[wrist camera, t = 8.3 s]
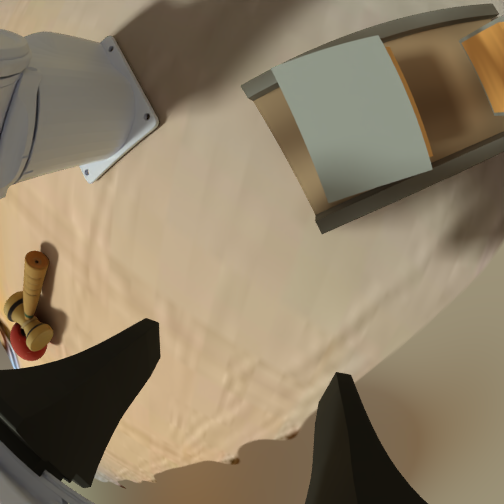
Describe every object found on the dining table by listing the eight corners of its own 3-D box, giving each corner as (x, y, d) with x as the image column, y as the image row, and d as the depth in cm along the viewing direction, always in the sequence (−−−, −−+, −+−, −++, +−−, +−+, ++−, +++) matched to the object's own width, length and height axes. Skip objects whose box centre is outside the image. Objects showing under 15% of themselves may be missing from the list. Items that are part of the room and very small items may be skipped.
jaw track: (251, 92, 15) (204, 62, 8) (474, 13, 8) (527, -21, 2) (322, 221, 17) (324, 278, 10) (528, 128, 10) (596, 138, 4)
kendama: (32, 229, 26) (19, 324, 31) (-2, 248, 20) (-2, 348, 25) (77, 263, 27) (55, 353, 33) (47, 290, 21) (37, 380, 27)
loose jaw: (287, 94, 13) (270, 68, 8) (364, 69, 12) (390, 32, 6) (323, 179, 15) (328, 203, 9) (398, 155, 13) (444, 166, 8)
